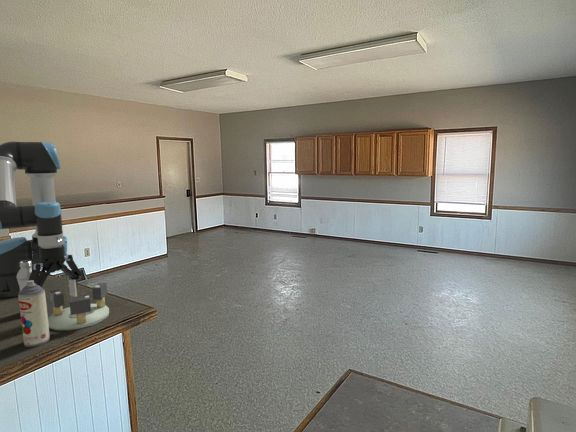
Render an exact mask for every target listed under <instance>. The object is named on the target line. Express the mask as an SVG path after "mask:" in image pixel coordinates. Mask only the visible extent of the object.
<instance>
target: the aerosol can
mask: <svg viewBox="0 0 576 432" xmlns="http://www.w3.org/2000/svg"><path fill="white" fill-rule="evenodd" d="M17 297H18V304H19V305H18V306H19V312H20V322H21V323H20V324H21V330H22V331H21V333H22V340H23V346H24V347H26V348H34V347H40V346H43V345H44V344H47V343H48V342H49V341H50V340H51V335H50V328H49V324H48V317H49V316H48V307H47V298H46V291H45V288H44V287H43V286H42V287H40V286H39V285H37V284H35V283H34V280H30V281H27V285H26V286H25V287H24V288H23V289H22V290H21V291H20V292H19V295H18V296H17Z"/></svg>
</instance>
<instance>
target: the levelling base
mask: <svg viewBox="0 0 576 432" xmlns="http://www.w3.org/2000/svg"><path fill="white" fill-rule="evenodd" d="M90 305H91V311H90V312H86V323H84V324H77V316H76V314H74V315H71V312H70V306H68V307H65V308H63V314H62V315H60V316H54V312H53V313H51V315H49V316H48V324H49V329H51V330H53V331H73V330H80V329H85V328H89V327H91V326H94V325H98V324H99V323H101V322H102V321H104V320H106V319H107V318H108V317H109V315H110V308H109V306H107V305H106V304H105V307H102V308H97V303H90Z"/></svg>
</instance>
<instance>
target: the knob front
mask: <svg viewBox="0 0 576 432" xmlns="http://www.w3.org/2000/svg"><path fill="white" fill-rule="evenodd" d="M90 304H91V297H90V295H86V296H85V295H84V296H83V297H74V298H70V299H69V307H70V312H71V315H74V314H76V316H77V324H84V323H86V312H90V311H91V305H90Z"/></svg>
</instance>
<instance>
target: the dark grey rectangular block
mask: <svg viewBox="0 0 576 432" xmlns="http://www.w3.org/2000/svg"><path fill="white" fill-rule="evenodd" d="M49 301H50V304H51V305H52V310H53V313H54V316H60V315H62V314H63V309H64V308H63V306H65V296H64V292H63V291H62V290H61V289H59V288H58V289H54V290H49Z"/></svg>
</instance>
